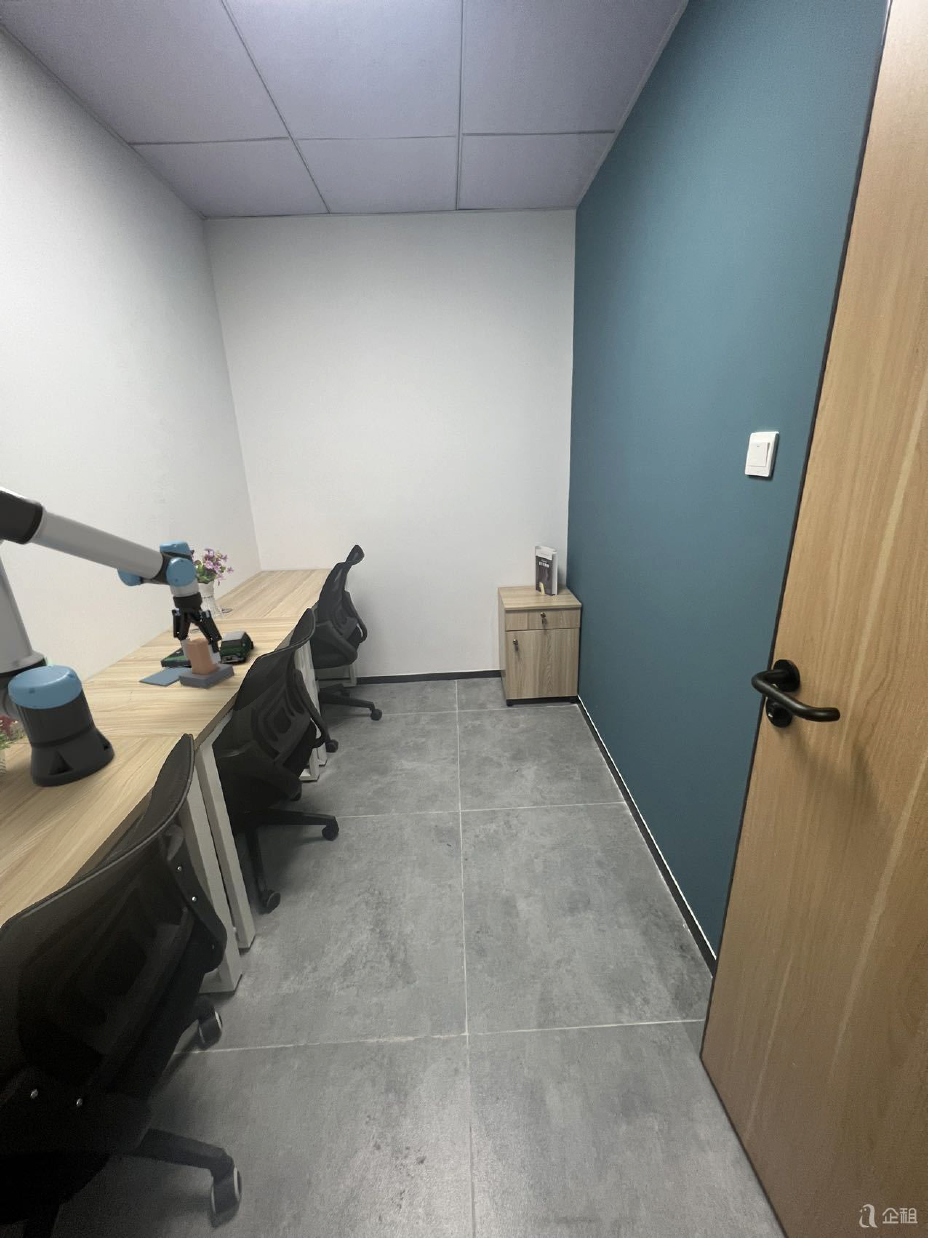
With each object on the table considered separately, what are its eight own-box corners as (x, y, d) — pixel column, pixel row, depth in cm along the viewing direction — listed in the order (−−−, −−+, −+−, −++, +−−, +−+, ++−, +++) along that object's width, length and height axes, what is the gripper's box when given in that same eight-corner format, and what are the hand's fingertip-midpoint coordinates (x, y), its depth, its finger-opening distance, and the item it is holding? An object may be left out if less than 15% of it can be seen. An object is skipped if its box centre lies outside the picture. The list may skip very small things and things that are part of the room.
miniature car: (216, 668, 163) (211, 646, 161) (229, 649, 180) (225, 629, 178) (244, 664, 165) (239, 643, 162) (255, 646, 182) (250, 625, 179)
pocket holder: (206, 688, 148) (203, 679, 147) (180, 684, 152) (178, 675, 151) (234, 673, 158) (232, 665, 157) (209, 670, 162) (207, 661, 161)
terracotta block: (207, 683, 152) (197, 644, 148) (195, 681, 154) (185, 643, 150) (220, 676, 156) (210, 638, 152) (208, 674, 158) (199, 637, 154)
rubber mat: (165, 686, 151) (165, 685, 151) (139, 682, 156) (139, 680, 156) (198, 670, 162) (197, 669, 162) (172, 667, 166) (172, 665, 166)
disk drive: (183, 653, 178) (161, 668, 164) (181, 646, 178) (159, 660, 163) (211, 651, 179) (192, 666, 164) (210, 644, 178) (190, 658, 164)
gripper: (224, 591, 145) (240, 659, 152) (170, 588, 153) (187, 652, 160) (203, 598, 138) (220, 668, 145) (148, 594, 147) (166, 661, 154)
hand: (203, 660), depth 153 cm, fingers open, 11 cm apart
